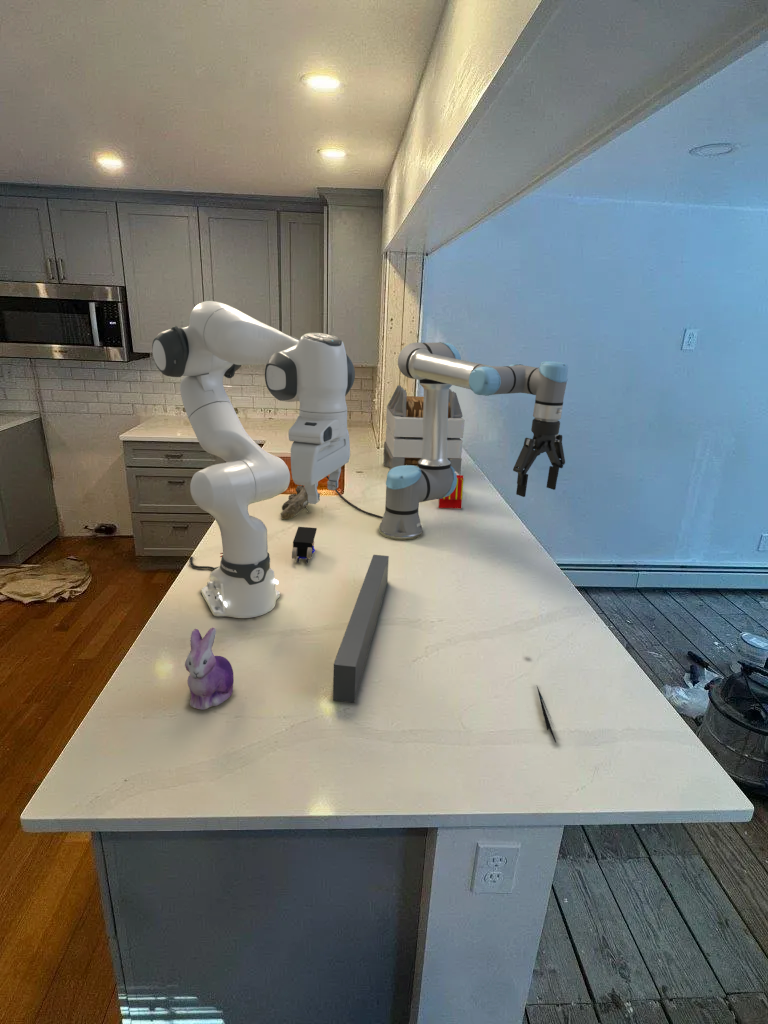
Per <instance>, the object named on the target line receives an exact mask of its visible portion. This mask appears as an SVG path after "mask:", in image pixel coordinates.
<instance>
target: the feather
mask: <svg viewBox="0 0 768 1024" xmlns="http://www.w3.org/2000/svg"><path fill="white" fill-rule="evenodd" d="M527 659H529V657H527ZM536 688H537V692H538V697H539V703H540V706H541V711H542V715H543V719H544V722H545V727H546V731H549V732H550V734H551V737H552V738H553V740H554V742H555V743H557V740H556V738H555V735H554V732H553V729H555V728H556V727H555V725H553V726H551V724H553V720H552V718H551V714H550V713H549V711H548V708H547V705H546V703H545V701H544V698H543V696H542V694H541V691H540V689H539V687H538V686H536ZM550 722H551V723H550ZM552 727H553V729H552Z"/></svg>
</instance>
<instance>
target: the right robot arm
mask: <svg viewBox="0 0 768 1024" xmlns="http://www.w3.org/2000/svg"><path fill="white" fill-rule="evenodd" d="M397 367H398V369H399V371H400V373H401V374H402V375H403V376H404V377H406V378H408V379H411V380H412V379H413V380H417V381H419V385H420V386H421V388H422V389H423V397H424V400H423V448H422V458H421V459H420V460H419V461H418V466H413V465H402V466H397V467H394V468H392V469H391V470H390V469H389V470H388V472H387V475H386V479H385V504H384V505H385V507H384V508H385V509H384V513H383V515H382V516H381V515H380V514H379V515H378V514H376V513H371V512H369V511H366V510H364V509H361V508H359V507H358V506H356V505H355V504H353V503H352V502H350V501H349V500H347V498H345V497H344V496H343V495H342V494H341V493H340V492H339V491H338V488H337V489H335V490H334V491H335V492H336V494H337V495H338V496H339V497H340V498H341V499H342V500H343V501H344V502H345V503H347V504H348V505H350V506H352V508H355V509H356V510H358V511H360V512H361V513H364V514H367V515H369V516H373V517H376V518H379V519H381V522H379V525H378V533H379V534H380V535H381V536H382V537H385V538H387V539H389V540H395V541H410V540H415V539H418V538H420V537H421V536H422V535H423V525H422V523H421V518H420V515H419V507H420V506H419V505H420V503H422V502H428V501H433V500H439V499H441V498H443V497H447V496H449V495H450V494H451V493H452V492H453V491H454V490H455V487H456V484H457V475H456V473H455V470H454V468H453V467H451V462H450V461H449V460H448V459H447V427H448V397H449V389H451V387H452V386H455V387H458V388H463V389H466V390H471V391H472V392H473V394H475V395H477V396H485V397H486V396H487V397H488V396H494V395H495V396H496V395H507V394H511V395H512V394H527V395H532V396H535V399H534V406H533V413H532V416H533V419H532V421H531V429H530V430H531V433H532V434H533V436H532V438H530V437H525V438H524V442H523V446H522V448H521V450H520V452H519V455H518V457H517V459H516V462H515V464H514V466H513V468H512V471H513V472H515V473H517V479H516V490H515V491H516V492H515V494H516V495H517V496H519V497H523V498H525V497H526V493H527V486H528V479H529V474H528V471H529V470H530V469H531V467H532V465H533V464H534V462H535V461H536V459H537V457H539V456H540V455H541V454H543V453H545V454H546V455H547V457H548V459H549V462H550V464H551V465H550V466H549V468H548V475H547V481H546V488H548V489H550V490H553V491H555V490H556V488H557V484H558V483H557V482H558V477H559V472H560V469H563V468H564V465H565V464H566V458H565V452H564V446H563V435H562V434H560V427H561V422H560V420H561V419H562V413H563V406H564V398H565V393H566V389H567V382H568V379H569V378H568V373H569V366H568V364H567V363H566V362H561V361H552V360H551V361H549V360H547V361H541V362H540V363H539V367H535V366H529V365H524V364H518V363H517V364H515V363H511V364H509V365H506V366H505V365H504V366H503V365H501V366H500V365H499V366H498V365H497V366H495V365H489V364H484V363H478V362H473V361H469V360H464V359H462V356H461V353H460V352H459V350H458V349H457V347H456V346H455V345H453V344H452V343H450V342H449V343H448V342H441V341H439V342H438V341H437V342H420V341H419V342H418V341H417V342H412V343H409V344H407V345H405V346H404V347H403V348H402V349H401V350H400V352H399V353H398V356H397ZM325 478H326V479H327V481H328V480H329V475H328V476H326V477H325Z"/></svg>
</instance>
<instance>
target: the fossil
mask: <svg viewBox="0 0 768 1024" xmlns="http://www.w3.org/2000/svg"><path fill="white" fill-rule="evenodd" d="M295 492H296V493H291V494H289V495H288V500H286V501H285V502H283V504H282V506H281V510H282V511H281V512H280V518H281V519H282V520H289V519H292V518H294V517H296V516H297V515H298V514H300V512H302V511H303V510H304V509H305V510H306V511H307V513H309V512H310V510H309V509H308V507H307V506H308V505H309V504H310V503H308V494H307V492H306V489H305V487H304V485H297V486H296V488H295Z"/></svg>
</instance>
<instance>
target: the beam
mask: <svg viewBox="0 0 768 1024" xmlns="http://www.w3.org/2000/svg"><path fill="white" fill-rule="evenodd" d="M389 559H390V556H389V555H381V554H372V557H371V560H370V563H369V565H368V568H367V572H366V574H365V577H364V579H363V582H362V585H361V587H360V591H359V593H358V597H357V599H356V601H355V603H354V607H353V610H352V612H351V615H350V619H349V621H348V623H347V626H346V629H345V632H344V635H343V638H342V639H341V643H340V646H339V648H338V651H337V655H336V657H335V659H334V662H333V674H332V675H333V678H332V680H333V683H332V700H333V701H337V702H345V703H351V704H352V703H354V704H355V702H356V699H357V696H358V692H359V688H360V684H361V680H362V677H363V673H364V671H365V670H364V669H365V666H366V663H367V659H368V655H369V651H370V647H371V644H372V640H373V638H374V633H375V630H376V627H377V622H378V619H379V614H380V612H381V608H382V604H383V601H384V597H385V593H386V589H387V585H388V582H389V581H388V579H389Z"/></svg>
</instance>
